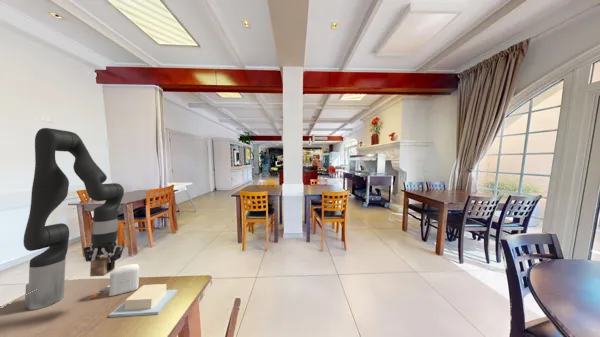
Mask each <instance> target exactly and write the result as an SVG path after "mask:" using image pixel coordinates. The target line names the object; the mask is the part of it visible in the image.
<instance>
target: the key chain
mask: <svg viewBox="0 0 600 337" xmlns="http://www.w3.org/2000/svg"><path fill="white" fill-rule="evenodd" d="M109 288H110V284H109V285H107V286H105V287H104V288H102V289H100V290H99V291H98V292H95V293H94V294H92V295H91V297H88V298H87V300H89V299H94V298H97V297H98V295H99V294H103V293H107V292H109Z"/></svg>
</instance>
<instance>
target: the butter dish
mask: <svg viewBox="0 0 600 337" xmlns="http://www.w3.org/2000/svg"><path fill="white" fill-rule="evenodd" d="M167 286H168V285H167V283H161V284H160V283H159V284H158V283H156V284H143V285H142V286H140V287H138V289H137V290H135V291H134V292H133V293H132V294H131V295H129V296H128V297H127V298H126V299H125V300H124V302H123V303H121V304H120V305H119V306H118V307H116V308H115V309H114V310H112V312H111V313H110V314H109V316H108V318H119V317H138V316H152V315H153V316H155V315H159V314H160V313H161V312H162V311H163V310H164V308H165V307H166V306H167V305H168V303H169V302H170V301H171V300H172V299H173V298H174V296H176V295H177V293H178V291H179V289H176V288H175V289H167Z"/></svg>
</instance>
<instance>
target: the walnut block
mask: <svg viewBox="0 0 600 337" xmlns="http://www.w3.org/2000/svg"><path fill="white" fill-rule="evenodd" d="M111 259H112V258H111ZM107 263H108V261H107V258H105V256H104V255H101V257H100V258H97V259H96V260H93V261H91V262H90V267H89V268H90V269H89V270H90V272H89V273H90V274H89V276H90V277H104V276H106V275H108V274H109V273H111V271H113V270H114V269H115V268H116V264H115V265H114V268H113V269H112V270H111V271H107Z"/></svg>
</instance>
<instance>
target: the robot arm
mask: <svg viewBox="0 0 600 337" xmlns="http://www.w3.org/2000/svg"><path fill="white" fill-rule="evenodd" d="M81 138H82V137H80V136H79V135H78V134H77V133H75V132H73V131H69V130H64V129H63V130H62V129H56V128H50V127H49V128H48V127H43V128H39V130H38V131H37V132H36V135H35V137H34V159H35V160H34V163H35V164H34V174H33V175H34V176H33V181H32V186H31V195H30V196H31V197H30V207H29V215H28V219H27V223H26V226H25V230H24V234H23V246H24V249H25V250H26V251H29V252H32V251H33V252H34V251H38V250H42V249H45V248H46V250H44V251H43V252H41V253H40V254H37V255H35V256H34V257H31V259H30V260H29V263H28V264H29V265H28V266H29V268H28V269H29V270H28V283H27V284H26V285H25V294H24V295H25V296H24V308H26V309H27V310H31V311H33V310H39V309H43V308H46V307H49V306H51V305H54V304H56V303H57V302H60V300H62V299H63V298H64V297H65V281H66V278H65V277H66V255H67V253H68V249H69V241H70V228H69V226H68V225H67V224H66V223H62V222H61V223H56V224H49V225H46V223H47V220H48V218H49V217H50V216H51V214H52V213H53V212H54V211H55V210H56V209H57V208H58V207H59V206H60V205H61V204H62V203H63V202H64V201H65V200H66V198H68V193H69V187H70V185H69V184H70V181H69V178H68V177H67V175H66V174H65V173H64V172H63V170H62V169H61V167H59V165H58V164H57V160H56V152H68V153H70V154H71V155H72V156H73V157H74V162H73V165H72V166H73V172H74V173H75V174H76V176H77V177H78V178H79V179H80V180H81V181H82V182H83V184H84V188H85V190H86V193H87V196H88V197H89V198H90V200H93V201H95V202H102V201H103V202H104V201H105V202H104V204H101V205H99V206H96V207H95V208H94V210H93V218H92V219H93V220H92V225H91V236H90V237H91V238H90V240H91V241H90V243H91V245H88V246H85V247H83V254H84V258H85V262H90V263H91V261H93V260H96V259H97V258H100V257H101V256H105V258H107V261H108V263H107V271H111V270H112V269H113V268H114V265H115V266H116V261H117V260H119V259H121V257H122V254H123V252H124V251H123V250H124V248H125V245H124V244H122V245H118V244H117V242H116V241H117V240H118V227H119V226H118V225H119V224H118V212H119V211H118V210H119V207H120V205H121V202H122V200H123V198H124V193H125V190H124V187H123V186H122V185H121V184H120V183H118V182H117V183H116V182H113V183H105V182H107V179H108V177H107V174H106V173H105V172H104V171H103V170H102V169H101V168H100V167H99V166H98V165H97V163H96V162H95V161H94V159H93V157H92V156H91V154H90V152H89V151H88V149H87V146H86V145H85V143H84V142H83V140H82V139H81ZM111 258H112V259H111ZM36 289H37V290H36ZM34 290H35V291H34ZM32 291H33V292H32ZM30 292H31V293H30ZM28 293H29V294H28ZM26 294H27V295H26Z"/></svg>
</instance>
